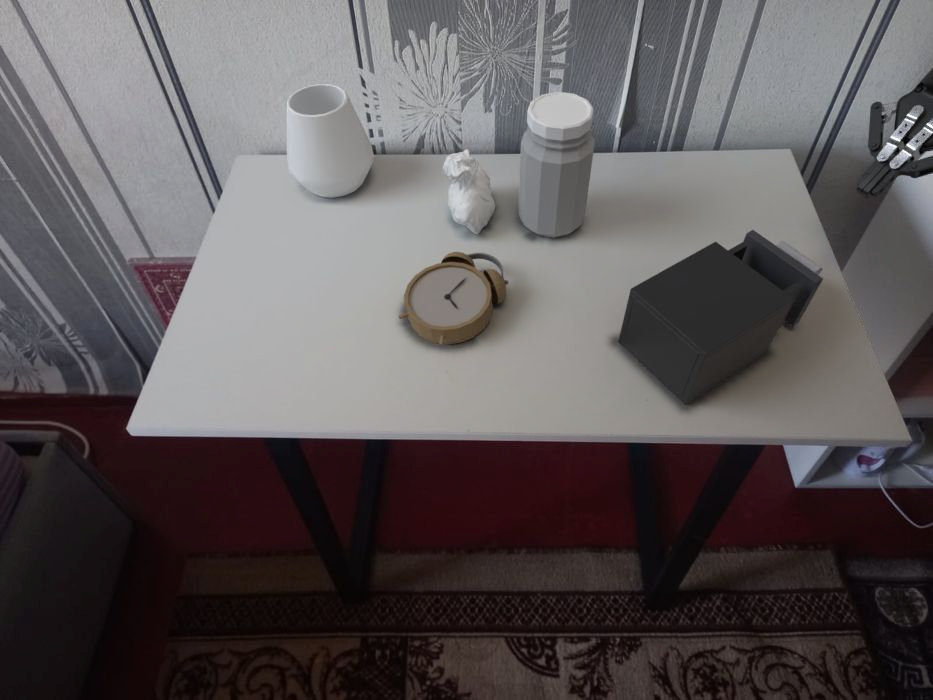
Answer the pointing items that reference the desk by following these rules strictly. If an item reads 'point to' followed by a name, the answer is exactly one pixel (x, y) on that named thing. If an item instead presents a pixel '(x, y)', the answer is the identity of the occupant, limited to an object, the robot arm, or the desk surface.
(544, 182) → the jar
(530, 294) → the desk surface
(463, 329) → the alarm clock
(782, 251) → the drawer
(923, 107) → the robot arm
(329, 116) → the white vase
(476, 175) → the white tied bag
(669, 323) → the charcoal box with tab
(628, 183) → the desk surface
